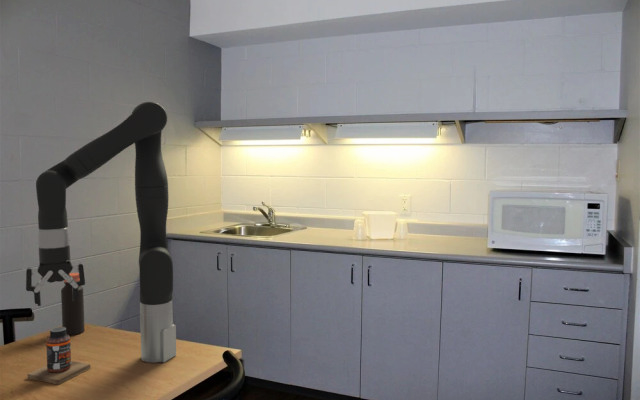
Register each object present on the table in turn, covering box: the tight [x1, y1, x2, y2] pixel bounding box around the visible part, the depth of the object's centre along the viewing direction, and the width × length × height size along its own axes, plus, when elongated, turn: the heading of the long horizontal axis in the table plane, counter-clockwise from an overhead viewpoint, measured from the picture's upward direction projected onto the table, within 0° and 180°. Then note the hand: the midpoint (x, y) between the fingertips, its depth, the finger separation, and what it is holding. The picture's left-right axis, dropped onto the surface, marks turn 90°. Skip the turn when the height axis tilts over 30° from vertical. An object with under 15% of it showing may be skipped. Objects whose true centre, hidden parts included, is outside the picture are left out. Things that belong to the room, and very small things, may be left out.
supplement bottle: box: [45, 326, 72, 373], centre depth 143 cm, size 6×6×11 cm
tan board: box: [27, 360, 91, 385], centre depth 143 cm, size 11×11×1 cm
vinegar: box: [60, 272, 85, 336], centre depth 175 cm, size 7×7×20 cm
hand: (57, 303), depth 141 cm, fingers open, 8 cm apart
